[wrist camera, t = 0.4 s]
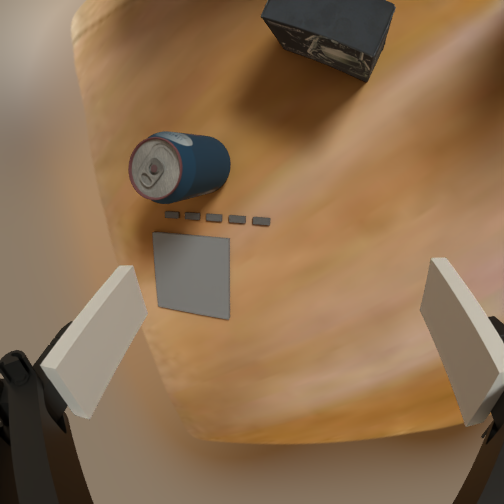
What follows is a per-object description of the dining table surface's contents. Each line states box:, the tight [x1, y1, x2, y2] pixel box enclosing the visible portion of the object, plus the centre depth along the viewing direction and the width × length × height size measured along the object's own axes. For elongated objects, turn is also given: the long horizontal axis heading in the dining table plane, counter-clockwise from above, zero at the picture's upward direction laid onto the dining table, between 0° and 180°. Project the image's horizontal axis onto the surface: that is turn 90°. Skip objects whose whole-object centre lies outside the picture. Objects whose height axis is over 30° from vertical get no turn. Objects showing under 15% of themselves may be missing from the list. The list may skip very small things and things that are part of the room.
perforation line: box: [165, 211, 270, 225], centre depth 40 cm, size 1×14×1 cm, turn 88°
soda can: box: [129, 132, 230, 204], centre depth 33 cm, size 7×7×12 cm
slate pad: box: [153, 232, 230, 320], centre depth 43 cm, size 11×11×1 cm
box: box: [261, 0, 396, 82], centre depth 25 cm, size 11×7×10 cm, turn 66°
